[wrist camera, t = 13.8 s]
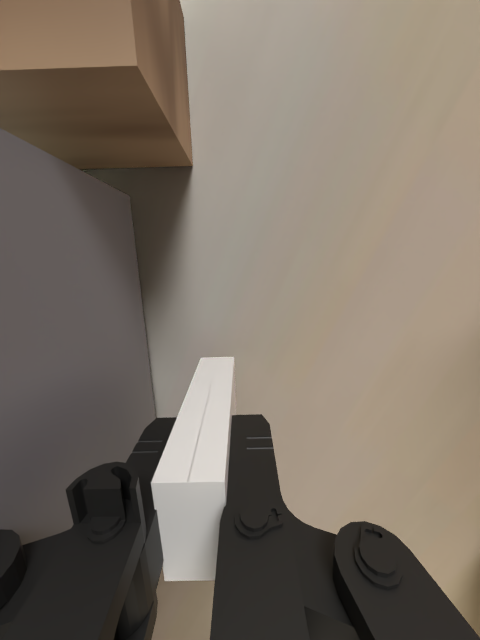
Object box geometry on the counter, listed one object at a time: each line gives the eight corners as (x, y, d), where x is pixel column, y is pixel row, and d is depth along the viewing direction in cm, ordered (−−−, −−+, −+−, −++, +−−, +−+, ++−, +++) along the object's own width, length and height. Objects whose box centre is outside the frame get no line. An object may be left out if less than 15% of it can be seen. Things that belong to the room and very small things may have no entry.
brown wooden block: (51, 22, 10) (-226, -316, 4) (183, 17, 10) (97, -333, 4) (75, 169, 11) (-110, 74, 5) (192, 165, 11) (137, 65, 5)
